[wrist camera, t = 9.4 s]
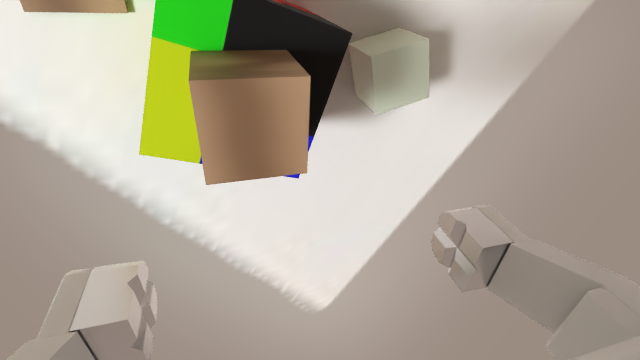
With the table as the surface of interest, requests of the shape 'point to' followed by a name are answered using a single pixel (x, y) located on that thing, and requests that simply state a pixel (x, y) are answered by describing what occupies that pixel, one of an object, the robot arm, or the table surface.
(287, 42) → the puzzle toy
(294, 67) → the walnut block
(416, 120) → the table surface
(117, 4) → the swatch tile
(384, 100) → the sage block
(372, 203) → the table surface
